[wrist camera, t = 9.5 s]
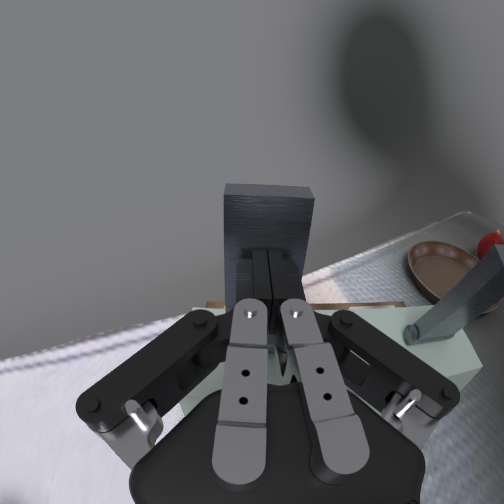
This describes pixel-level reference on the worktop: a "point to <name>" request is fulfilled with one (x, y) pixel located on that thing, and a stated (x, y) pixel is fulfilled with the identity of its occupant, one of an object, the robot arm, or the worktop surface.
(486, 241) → the onion
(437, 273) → the plant saucer
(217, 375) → the block
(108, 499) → the worktop surface
